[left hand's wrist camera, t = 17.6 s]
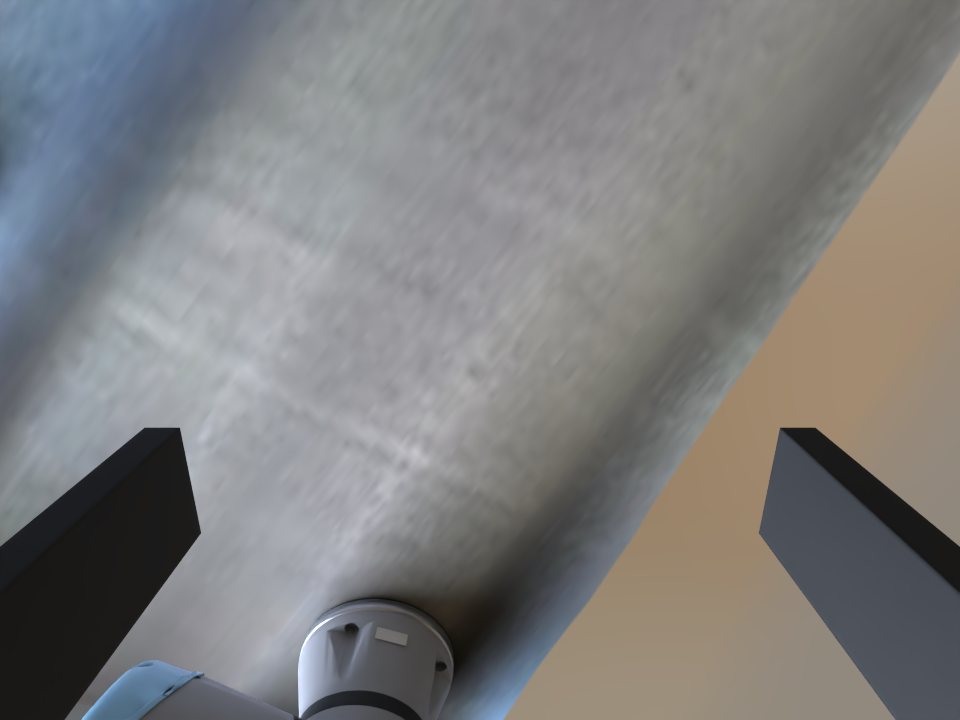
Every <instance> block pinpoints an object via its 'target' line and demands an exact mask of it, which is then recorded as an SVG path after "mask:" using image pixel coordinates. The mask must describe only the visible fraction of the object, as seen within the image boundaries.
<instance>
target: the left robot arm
mask: <svg viewBox="0 0 960 720" xmlns="http://www.w3.org/2000/svg"><path fill="white" fill-rule="evenodd" d="M200 534H201V531H200V526H199V521H198V516H197V511H196V506H195V501H194V496H193V491H192V486H191V481H190V476H189V471H188V466H187V461H186V456H185V451H184V446H183V441H182V436H181V431H180V428H144V429H143V430H141V431H140V432H139V433H138V434H137V435H135V436H134V437H133V438H132V439H131V440H129V441H128V442H127V443H126V444H124V445H123V446H122V447H121V448H120V449H118V450H117V451H116V452H115V453H114V454H112V455H111V456H110V457H109V458H107V459H106V460H105V461H104V462H103V463H101V464H100V465H99V466H98V467H97V468H95V469H94V470H93V471H92V472H90V473H89V474H88V475H87V476H86V477H84V478H83V479H82V480H81V481H80V482H78V483H77V484H76V485H75V486H73V487H72V488H71V489H70V490H69V491H67V492H66V493H65V494H64V495H63V496H61V497H60V498H59V499H58V500H56V501H55V502H54V503H53V504H52V505H50V506H49V507H48V508H47V509H46V510H44V511H43V512H42V513H41V514H39V515H38V516H37V517H36V518H35V519H33V520H32V521H31V522H30V523H29V524H27V525H26V526H25V527H24V528H22V529H21V530H20V531H19V532H18V533H16V534H15V535H14V536H13V537H12V538H10V539H9V540H8V541H7V542H5V543H4V544H3V545H2V546H1V547H0V720H65V718H66V717H67V716H68V714H69V713H70V711H71V710H72V709H73V707H74V706H75V705H76V703H77V702H78V701H79V699H80V698H81V696H82V695H83V694H84V692H85V691H86V690H87V688H88V687H89V685H90V684H91V683H92V681H93V680H94V679H95V677H96V676H97V675H98V673H99V672H100V670H101V669H102V668H103V666H104V665H105V664H106V662H107V661H108V660H109V658H110V657H111V655H112V654H113V653H114V651H115V650H116V649H117V647H118V646H119V644H120V643H121V642H122V640H123V639H124V638H125V636H126V635H127V634H128V632H129V631H130V629H131V628H132V627H133V625H134V624H135V623H136V621H137V620H138V619H139V617H140V616H141V614H142V613H143V612H144V610H145V609H146V608H147V606H148V605H149V603H150V602H151V601H152V599H153V598H154V597H155V595H156V594H157V593H158V591H159V590H160V588H161V587H162V586H163V584H164V583H165V582H166V580H167V579H168V578H169V576H170V575H171V573H172V572H173V571H174V569H175V568H176V567H177V565H178V564H179V562H180V561H181V560H182V558H183V557H184V556H185V554H186V553H187V552H188V550H189V549H190V547H191V546H192V545H193V543H194V542H195V541H196V539H197V538H198V537H199V535H200ZM759 534H760V535H761V537H762V538H763V539H764V541H765V542H766V543H767V545H768V546H769V547H770V549H771V550H772V552H773V553H774V554H775V556H776V557H777V558H778V560H779V561H780V562H781V564H782V565H783V566H784V568H785V569H786V571H787V572H788V573H789V575H790V576H791V577H792V579H793V580H794V582H795V583H796V584H797V586H798V587H799V588H800V590H801V591H802V593H803V594H804V595H805V597H806V598H807V599H808V601H809V602H810V603H811V605H812V606H813V608H814V609H815V610H816V612H817V613H818V614H819V616H820V617H821V618H822V620H823V621H824V623H825V624H826V625H827V627H828V628H829V629H830V631H831V632H832V634H833V635H834V636H835V638H836V639H837V640H838V642H839V643H840V644H841V646H842V647H843V649H844V650H845V651H846V653H847V654H848V655H849V657H850V658H851V660H852V661H853V662H854V664H855V665H856V666H857V668H858V669H859V670H860V672H861V673H862V675H863V676H864V677H865V679H866V680H867V681H868V683H869V684H870V685H871V687H872V688H873V690H874V691H875V692H876V694H877V695H878V696H879V698H880V699H881V701H882V702H883V703H884V705H885V706H886V707H887V709H888V710H889V711H890V713H891V714H892V716H893V717H894V718H895V720H960V547H959V546H958V545H957V544H956V543H955V542H953V541H952V540H951V539H950V538H948V537H947V536H946V535H945V534H944V533H942V532H941V531H940V530H939V529H937V528H936V527H935V526H934V525H933V524H931V523H930V522H929V521H928V520H927V519H925V518H924V517H923V516H922V515H921V514H919V513H918V512H917V511H916V510H914V509H913V508H912V507H911V506H910V505H908V504H907V503H906V502H905V501H904V500H902V499H901V498H900V497H899V496H897V495H896V494H895V493H894V492H893V491H891V490H890V489H889V488H888V487H887V486H885V485H884V484H883V483H882V482H880V481H879V480H878V479H877V478H876V477H874V476H873V475H872V474H871V473H870V472H868V471H867V470H866V469H865V468H863V467H862V466H861V465H860V464H859V463H857V462H856V461H855V460H854V459H853V458H851V457H850V456H849V455H848V454H846V453H845V452H844V451H843V450H842V449H840V448H839V447H838V446H837V445H835V444H834V443H833V442H832V441H831V440H829V439H828V438H827V437H826V436H825V435H823V434H822V433H821V432H820V431H819V430H817V429H816V428H780V431H779V436H778V442H777V446H776V451H775V456H774V461H773V466H772V471H771V476H770V481H769V486H768V491H767V496H766V501H765V506H764V511H763V516H762V521H761V526H760V531H759ZM453 666H454V655H453V649H452V646H451V643H450V640H449V638H448V637H447V635H446V633H445V632H444V630H443V629H442V628H441V627H440V626H439V624H438V623H437V622H436V621H434V620H433V619H432V618H431V617H429V616H428V615H427V614H425V613H424V612H422V611H420V610H418V609H416V608H414V607H412V606H409V605H407V604H404V603H400V602H396V601H392V600H385V599H363V600H357V601H352V602H348V603H345V604H342V605H339V606H337V607H335V608H333V609H331V610H329V611H328V612H326V613H325V614H324V615H322V616H321V617H320V618H319V619H318V620H317V621H316V622H315V623H314V624H313V626H312V627H311V628H310V630H309V632H308V634H307V636H306V639H305V641H304V644H303V647H302V650H301V653H300V659H299V666H298V685H299V718H298V717H296V716H294V715H292V714H289V713H287V712H285V711H282V710H280V709H278V708H276V707H273V706H271V705H269V704H266V703H264V702H262V701H260V700H257V699H255V698H253V697H250V696H248V695H246V694H244V693H241V692H239V691H237V690H234V689H232V688H230V687H227V686H225V685H223V684H221V683H218V682H216V681H214V680H211V679H209V678H207V677H205V676H204V673H202V672H199V671H195V672H190V671H187V670H184V669H182V668H179V667H176V666H173V665H171V664H168V663H165V662H162V661H158V660H150V661H145V662H142V663H140V664H138V665H136V666H134V667H132V668H131V669H130V670H128V671H127V672H126V673H124V674H123V675H122V676H121V677H120V678H119V679H118V680H117V681H116V682H115V683H114V684H113V685H112V686H111V687H110V688H109V689H108V690H107V691H106V692H105V693H104V694H103V696H102V697H101V698H100V699H99V700H98V701H97V702H96V703H95V704H94V706H93V707H92V708H91V709H90V710H89V711H88V713H87V714H86V715H85V716H84V717H83V719H82V720H437V719H438V717H439V714H440V712H441V710H442V707H443V705H444V703H445V700H446V698H447V696H448V693H449V690H450V687H451V683H452V679H453Z"/></svg>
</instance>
